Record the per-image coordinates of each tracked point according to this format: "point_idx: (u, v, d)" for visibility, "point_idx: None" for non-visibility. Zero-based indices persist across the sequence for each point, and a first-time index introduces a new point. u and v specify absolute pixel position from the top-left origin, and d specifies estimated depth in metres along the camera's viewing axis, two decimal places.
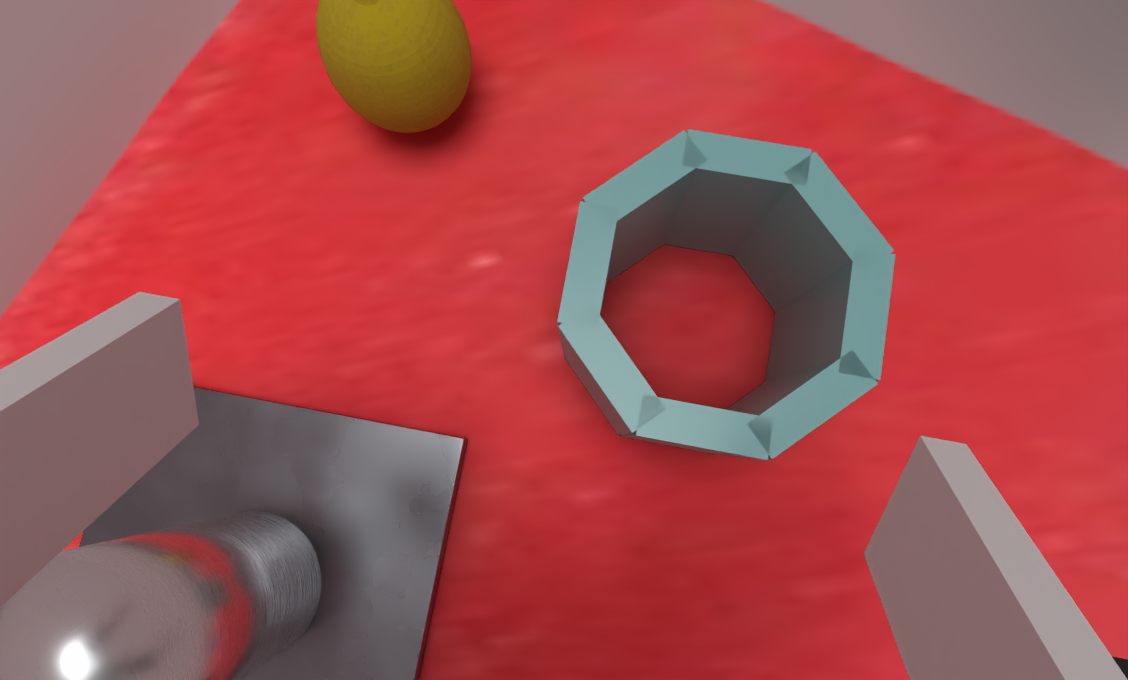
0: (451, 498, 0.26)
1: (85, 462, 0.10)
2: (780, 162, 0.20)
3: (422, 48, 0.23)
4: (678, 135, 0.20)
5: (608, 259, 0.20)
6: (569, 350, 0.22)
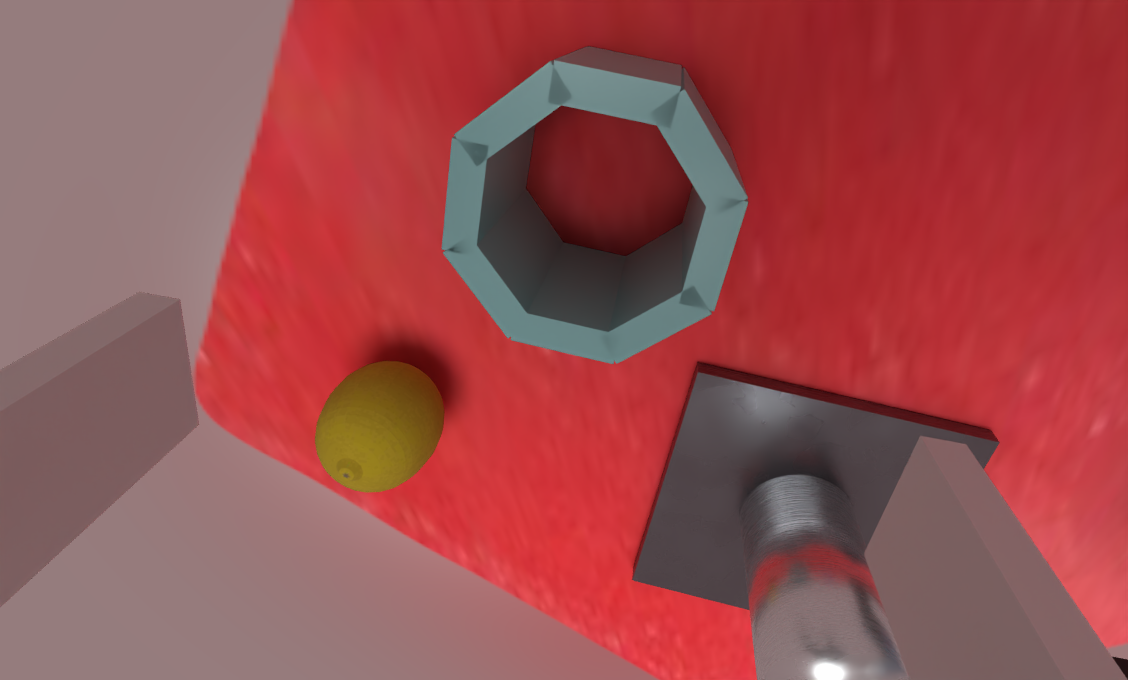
0: (747, 382, 0.31)
1: (85, 462, 0.10)
2: (466, 168, 0.21)
3: (386, 426, 0.29)
4: (448, 258, 0.23)
5: (560, 322, 0.23)
6: None
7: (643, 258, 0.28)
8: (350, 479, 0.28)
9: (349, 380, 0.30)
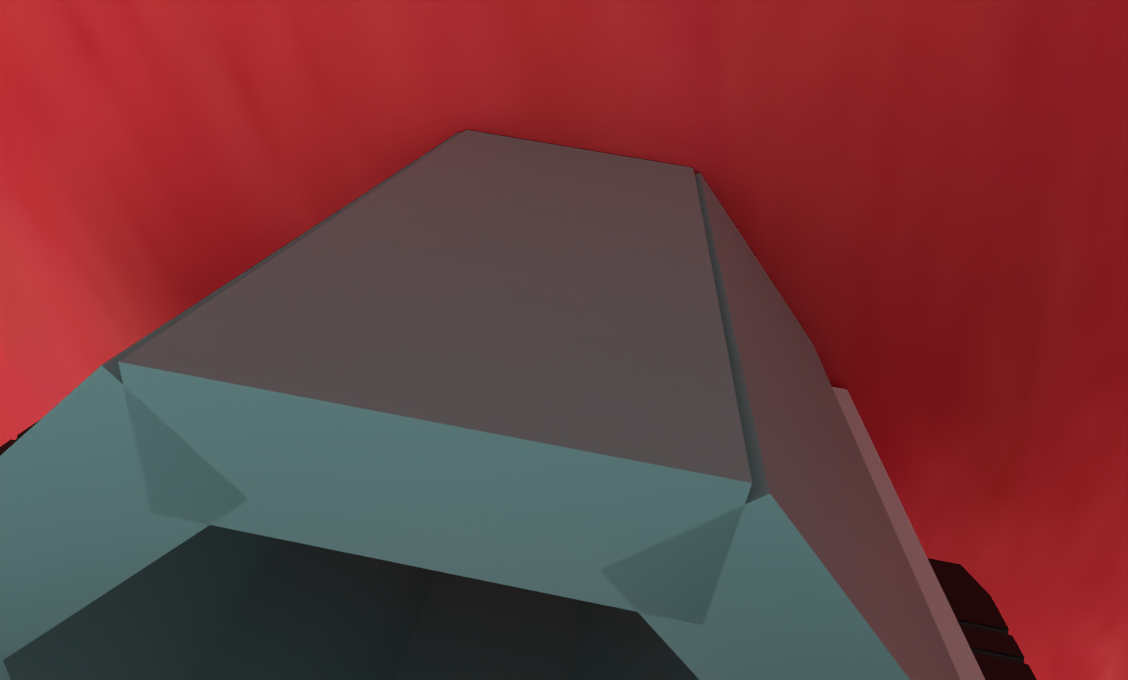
0: None
1: None
2: None
3: None
4: None
5: None
6: None
7: None
8: None
9: None
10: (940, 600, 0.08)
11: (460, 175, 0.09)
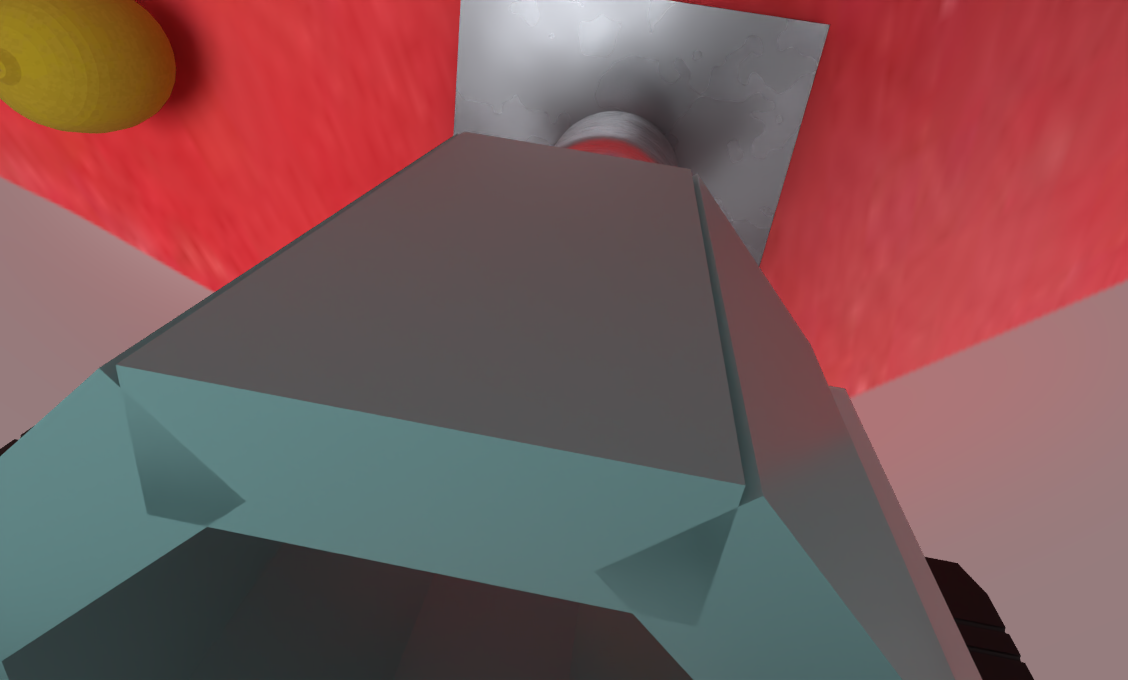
0: None
1: None
2: None
3: (49, 12, 0.23)
4: None
5: None
6: None
7: None
8: (3, 74, 0.23)
9: None
10: (936, 598, 0.08)
11: (458, 177, 0.09)
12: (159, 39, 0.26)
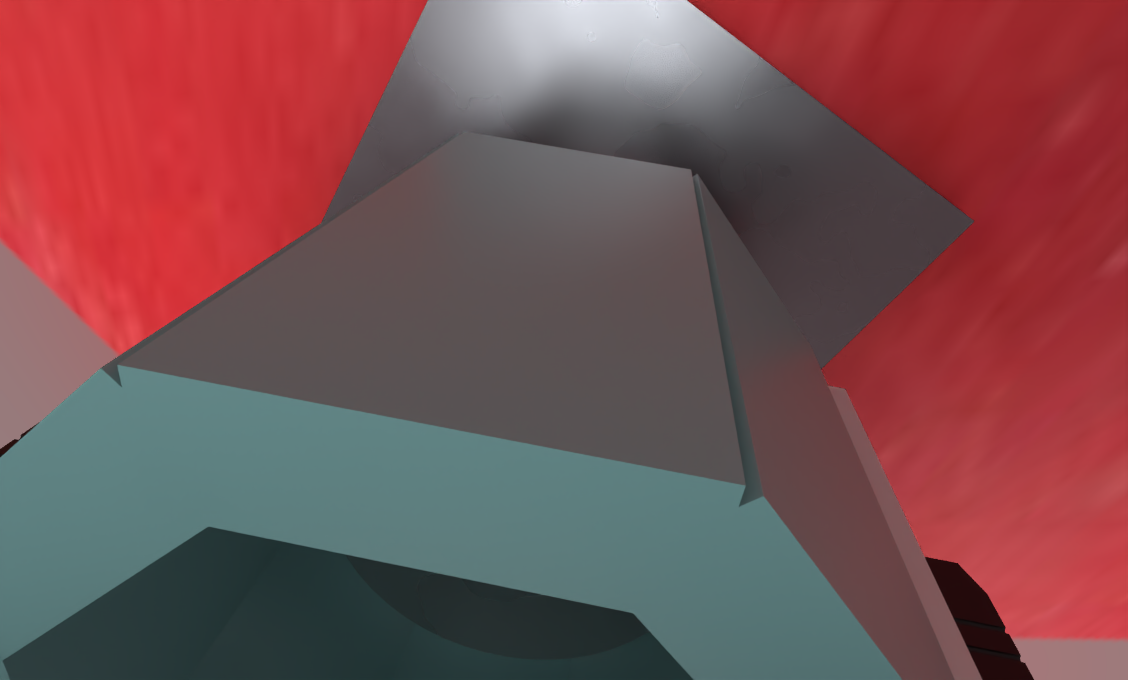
0: None
1: None
2: None
3: None
4: None
5: None
6: None
7: None
8: None
9: None
10: (936, 598, 0.08)
11: (458, 177, 0.09)
12: None
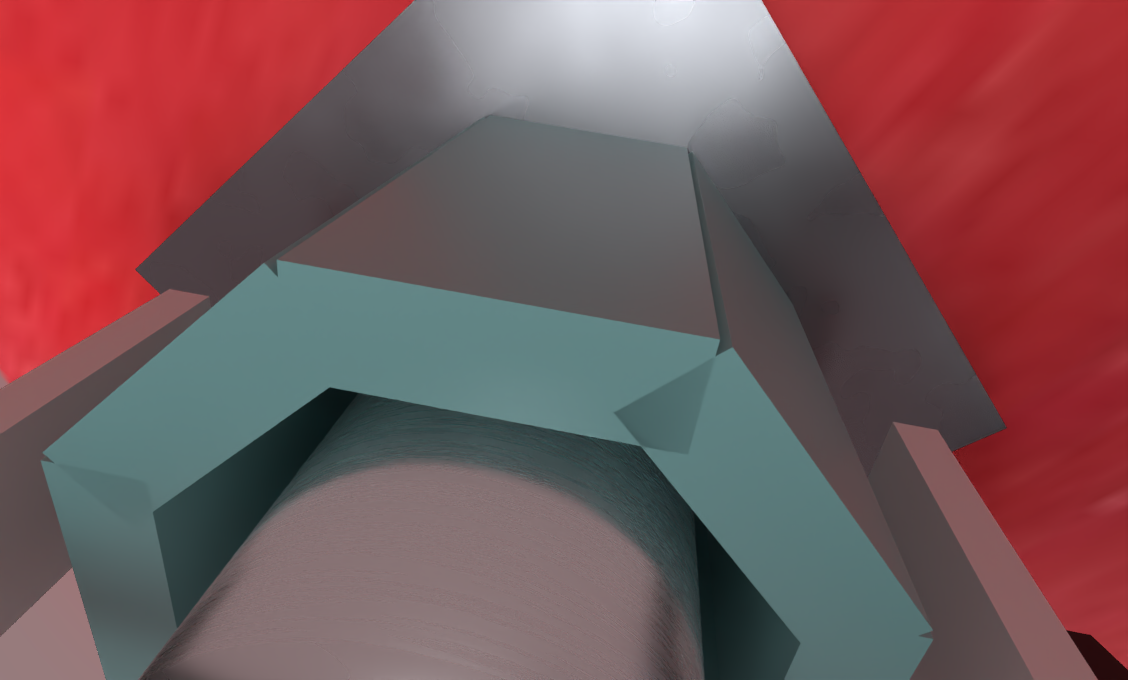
0: None
1: None
2: (106, 530, 0.08)
3: None
4: None
5: None
6: None
7: None
8: None
9: None
10: None
11: (491, 149, 0.10)
12: None
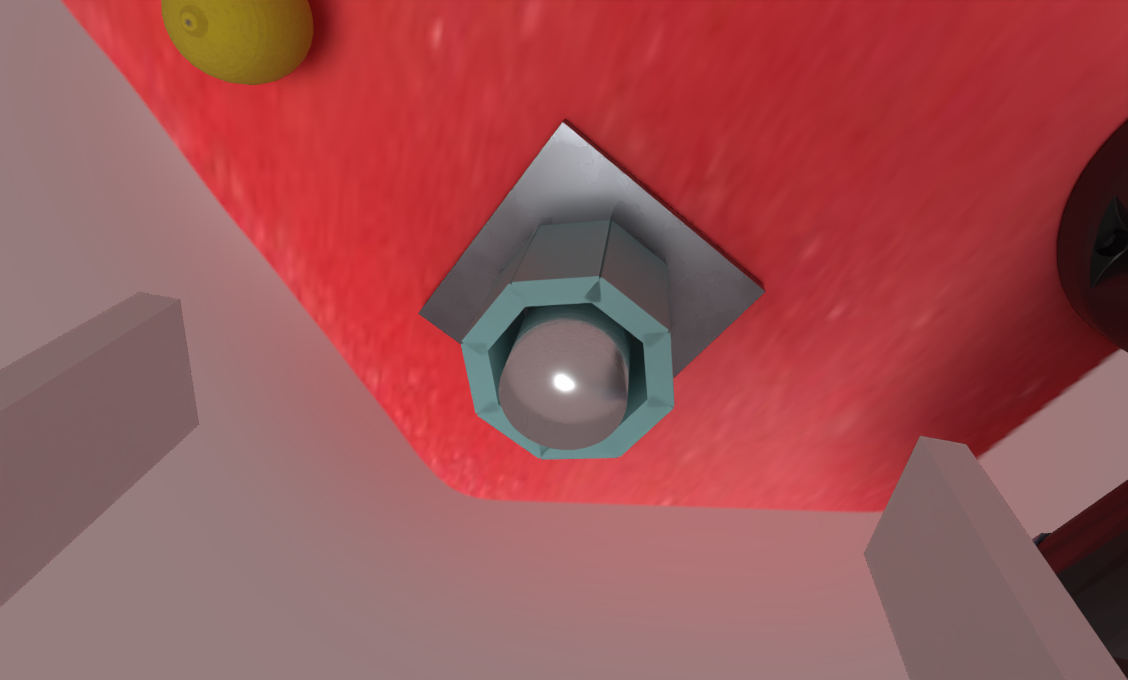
0: (599, 152, 0.34)
1: (85, 462, 0.10)
2: (476, 359, 0.31)
3: None
4: (481, 417, 0.32)
5: None
6: None
7: None
8: (192, 29, 0.27)
9: None
10: None
11: (544, 241, 0.33)
12: (310, 36, 0.31)
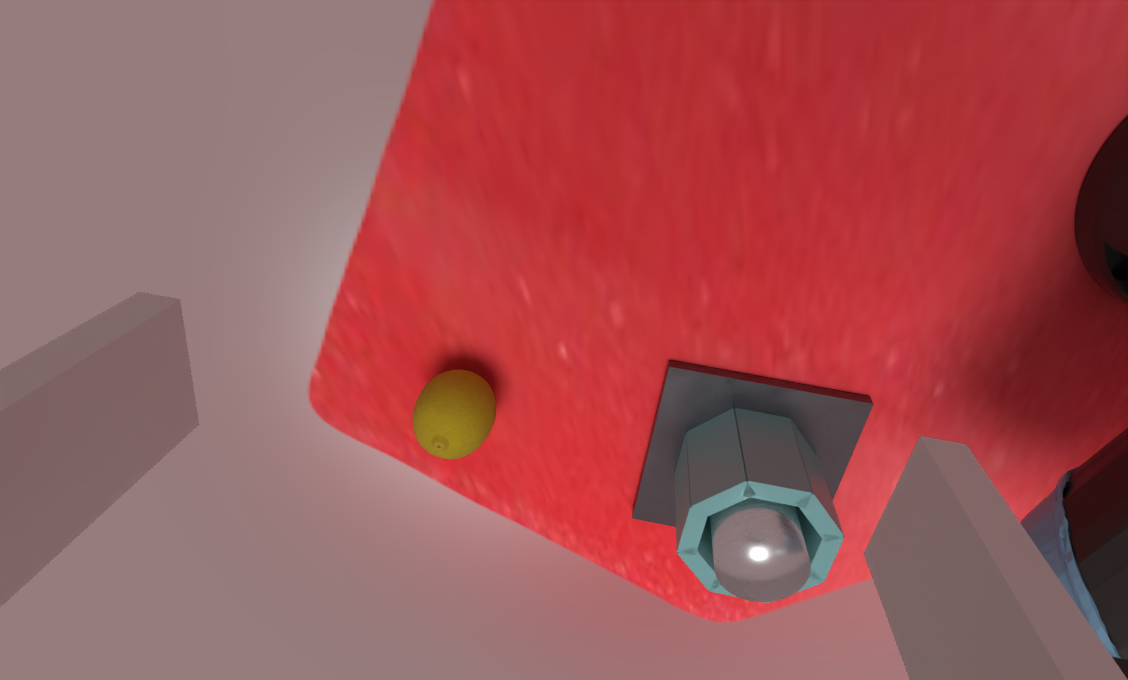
0: (702, 372, 0.46)
1: (85, 462, 0.10)
2: (692, 558, 0.43)
3: (463, 413, 0.43)
4: (714, 591, 0.44)
5: None
6: None
7: None
8: (441, 448, 0.43)
9: (433, 384, 0.45)
10: None
11: (696, 450, 0.45)
12: (494, 399, 0.47)
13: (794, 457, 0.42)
